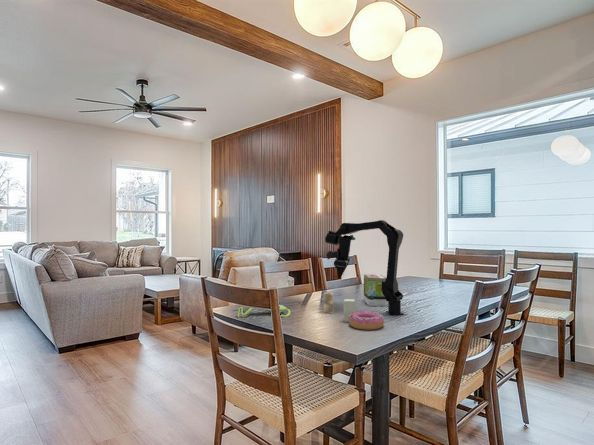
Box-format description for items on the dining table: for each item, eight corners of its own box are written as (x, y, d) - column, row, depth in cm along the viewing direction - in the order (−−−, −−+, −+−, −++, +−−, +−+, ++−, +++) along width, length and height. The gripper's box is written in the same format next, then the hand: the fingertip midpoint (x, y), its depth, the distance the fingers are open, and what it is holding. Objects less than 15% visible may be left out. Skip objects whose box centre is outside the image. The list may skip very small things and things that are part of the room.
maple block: (334, 311, 183) (334, 292, 183) (333, 313, 179) (332, 294, 179) (325, 310, 184) (324, 292, 184) (323, 312, 180) (323, 293, 180)
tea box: (387, 306, 193) (387, 277, 194) (367, 306, 194) (367, 277, 194) (381, 300, 209) (381, 273, 209) (363, 300, 209) (363, 273, 209)
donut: (390, 326, 157) (390, 314, 157) (370, 333, 147) (370, 320, 147) (362, 320, 167) (362, 308, 167) (341, 326, 157) (341, 314, 157)
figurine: (238, 309, 190) (238, 298, 190) (291, 309, 189) (291, 298, 189) (231, 318, 171) (231, 306, 171) (290, 318, 171) (290, 306, 171)
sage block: (354, 319, 167) (354, 299, 167) (354, 322, 162) (354, 301, 162) (344, 319, 168) (344, 298, 168) (343, 321, 163) (343, 300, 163)
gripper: (331, 242, 203) (327, 270, 205) (325, 246, 185) (321, 277, 186) (352, 246, 201) (347, 274, 202) (348, 250, 182) (343, 281, 184)
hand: (339, 276), depth 194 cm, fingers open, 9 cm apart
